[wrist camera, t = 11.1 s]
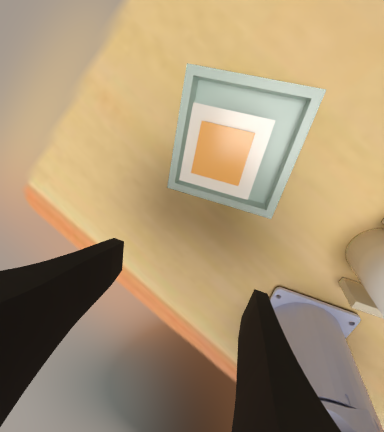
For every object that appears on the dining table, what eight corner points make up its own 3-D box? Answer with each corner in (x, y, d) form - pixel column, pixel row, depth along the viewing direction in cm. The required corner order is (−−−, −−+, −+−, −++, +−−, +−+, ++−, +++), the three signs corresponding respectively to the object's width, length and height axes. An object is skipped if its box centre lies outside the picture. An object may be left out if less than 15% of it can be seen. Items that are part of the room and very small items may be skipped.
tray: (269, 210, 19) (271, 219, 17) (175, 182, 20) (167, 187, 18) (318, 94, 15) (326, 89, 13) (194, 70, 16) (187, 63, 14)
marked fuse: (251, 173, 17) (247, 202, 11) (206, 161, 18) (176, 181, 12) (268, 122, 16) (276, 120, 9) (217, 111, 16) (190, 101, 10)
